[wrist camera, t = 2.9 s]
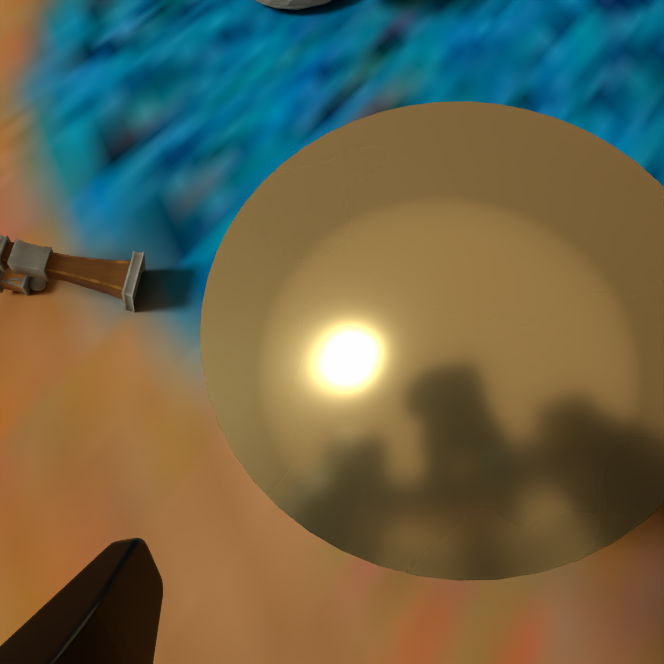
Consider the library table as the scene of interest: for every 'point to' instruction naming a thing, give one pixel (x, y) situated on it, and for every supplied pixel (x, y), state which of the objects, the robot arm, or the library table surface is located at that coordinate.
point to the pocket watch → (292, 3)
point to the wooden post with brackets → (67, 270)
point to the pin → (447, 340)
